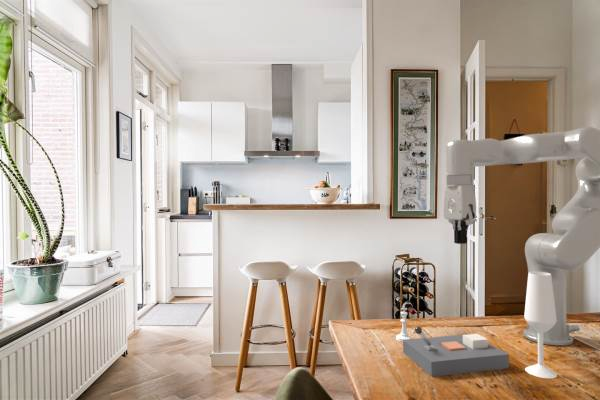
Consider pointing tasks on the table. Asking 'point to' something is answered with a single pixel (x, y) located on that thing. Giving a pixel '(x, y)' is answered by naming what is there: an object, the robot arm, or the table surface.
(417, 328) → the toggle lever
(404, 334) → the chess piece
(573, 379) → the table surface
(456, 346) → the button terracotta
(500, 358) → the panel
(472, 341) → the button white
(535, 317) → the champagne flute
